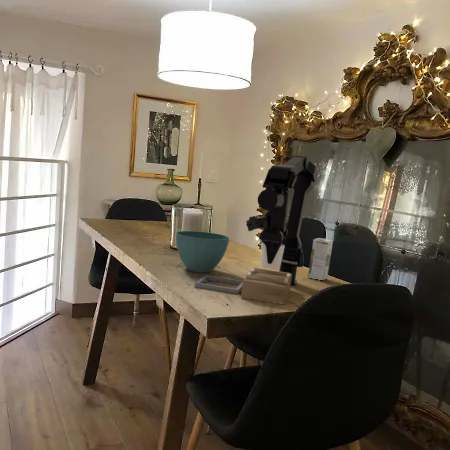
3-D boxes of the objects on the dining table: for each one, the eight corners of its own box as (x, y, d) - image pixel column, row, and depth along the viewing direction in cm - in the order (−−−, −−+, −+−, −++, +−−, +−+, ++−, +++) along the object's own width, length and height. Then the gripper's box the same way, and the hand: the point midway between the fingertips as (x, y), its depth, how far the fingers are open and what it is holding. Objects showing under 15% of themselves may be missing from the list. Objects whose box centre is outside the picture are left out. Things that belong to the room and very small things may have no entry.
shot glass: (285, 270, 141) (288, 246, 140) (263, 268, 139) (266, 244, 138) (277, 265, 147) (280, 242, 146) (255, 263, 145) (258, 240, 145)
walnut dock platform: (252, 283, 155) (254, 265, 154) (289, 289, 152) (292, 271, 152) (240, 297, 135) (243, 276, 135) (283, 304, 133) (286, 283, 132)
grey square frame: (205, 278, 154) (206, 274, 154) (245, 285, 152) (246, 281, 152) (194, 286, 142) (194, 282, 141) (238, 294, 139) (238, 290, 139)
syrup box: (312, 276, 179) (317, 237, 177) (327, 279, 176) (333, 240, 175) (307, 278, 174) (312, 238, 172) (323, 281, 171) (329, 241, 170)
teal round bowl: (177, 274, 155) (181, 236, 154) (168, 262, 173) (171, 228, 171) (231, 277, 160) (235, 240, 159) (217, 265, 178) (221, 232, 177)
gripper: (255, 204, 152) (249, 253, 154) (244, 207, 134) (238, 262, 135) (290, 208, 150) (284, 258, 151) (285, 212, 131) (277, 268, 133)
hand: (270, 261), depth 143 cm, fingers closed on shot glass, 6 cm apart
